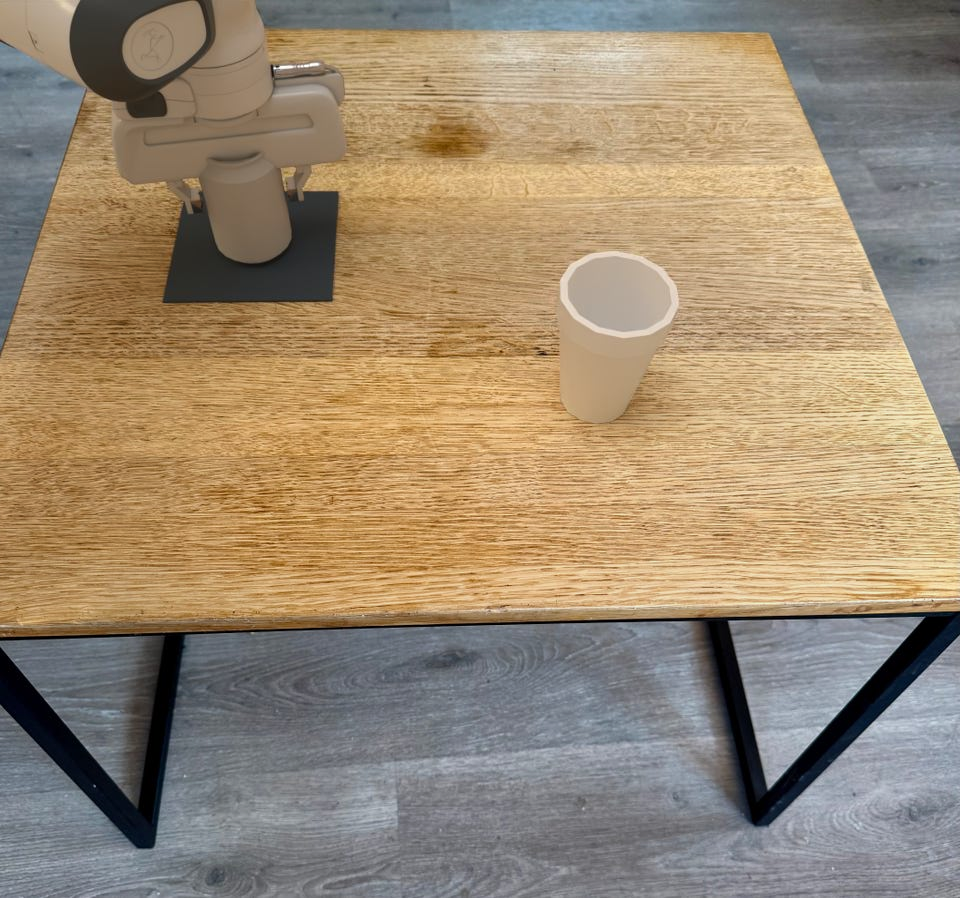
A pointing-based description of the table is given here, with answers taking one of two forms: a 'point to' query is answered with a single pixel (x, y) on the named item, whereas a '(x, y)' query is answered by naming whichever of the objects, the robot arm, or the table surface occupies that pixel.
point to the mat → (281, 279)
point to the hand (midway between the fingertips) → (246, 203)
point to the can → (247, 208)
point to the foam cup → (610, 330)
